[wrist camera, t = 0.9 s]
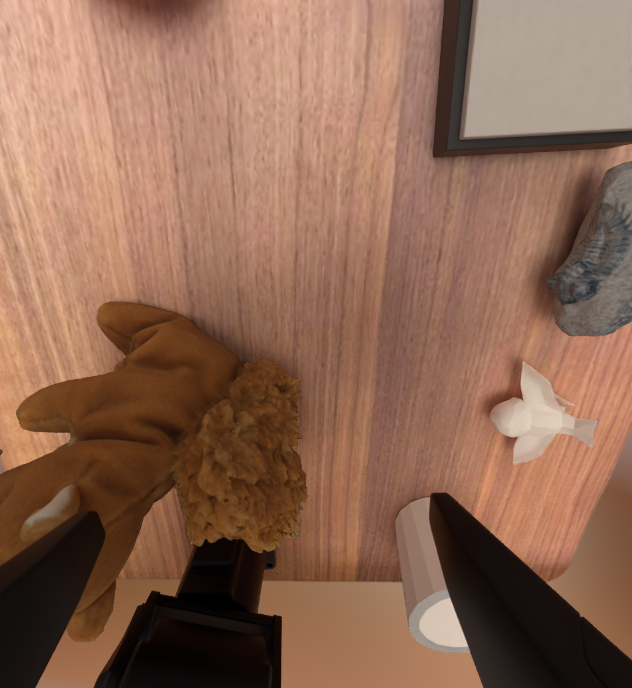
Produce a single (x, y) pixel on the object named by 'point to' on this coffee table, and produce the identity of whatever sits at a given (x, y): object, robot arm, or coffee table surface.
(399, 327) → the coffee table surface
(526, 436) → the toy bird
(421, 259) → the coffee table surface
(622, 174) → the fossil
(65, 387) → the stuffed squirrel
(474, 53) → the kitchen scale
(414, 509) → the shot glass
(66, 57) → the coffee table surface
